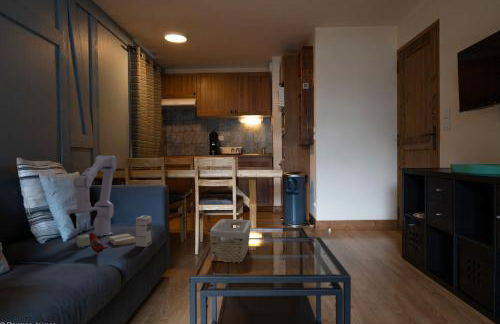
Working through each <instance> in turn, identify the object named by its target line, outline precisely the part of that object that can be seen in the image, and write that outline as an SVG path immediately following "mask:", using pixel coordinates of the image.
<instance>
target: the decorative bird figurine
mask: <svg viewBox="0 0 500 324" xmlns="http://www.w3.org/2000/svg"><path fill="white" fill-rule="evenodd" d="M93 232H94V231H93ZM93 232H89V233H88V235H89V239H90V245H91V246H90V247H91V249H92V251H93V254H94V255H95V256H98V257H99V254H100V253H102V252H103V251H104V250H106V249H109V247H108V246H104V244H103V243H102V241H100V239H98V238H97V237H98V236H97V235H95V234H94V233H93Z"/></svg>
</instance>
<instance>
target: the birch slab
mask: <svg viewBox="0 0 500 324" xmlns="http://www.w3.org/2000/svg"><path fill="white" fill-rule="evenodd" d="M109 240H110V241H111V242H113V243H114V244H115V245H121V246H125V245H130V244H134V243H136V237H135V236H133V235H131V234H130V233H123V234H117V235H112V236H111V235H109V236H108V241H109ZM115 245H114V246H115Z"/></svg>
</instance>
